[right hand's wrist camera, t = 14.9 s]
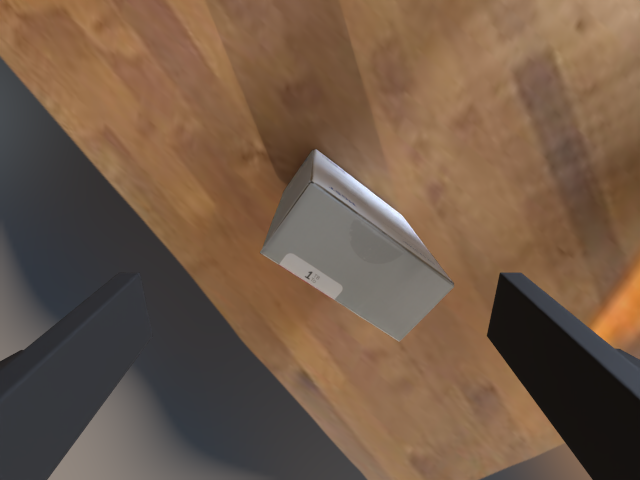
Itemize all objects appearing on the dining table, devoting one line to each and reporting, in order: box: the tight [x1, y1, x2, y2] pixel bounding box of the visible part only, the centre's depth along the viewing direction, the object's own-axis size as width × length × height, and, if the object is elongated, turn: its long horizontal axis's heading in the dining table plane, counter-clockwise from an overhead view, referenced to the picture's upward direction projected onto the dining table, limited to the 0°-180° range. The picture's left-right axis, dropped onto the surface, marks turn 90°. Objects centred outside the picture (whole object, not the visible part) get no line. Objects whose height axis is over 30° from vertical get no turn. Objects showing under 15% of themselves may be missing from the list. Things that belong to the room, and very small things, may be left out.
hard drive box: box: [260, 149, 454, 341], centre depth 38 cm, size 16×8×20 cm, turn 54°
